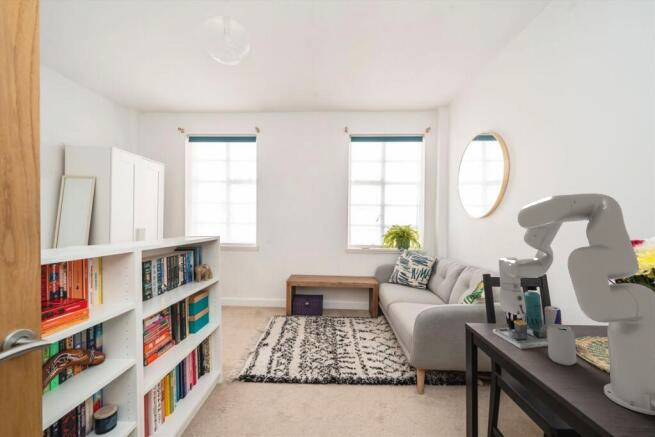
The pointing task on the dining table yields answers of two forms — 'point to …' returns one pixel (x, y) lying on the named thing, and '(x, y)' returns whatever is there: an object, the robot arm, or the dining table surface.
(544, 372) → the dining table surface
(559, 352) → the can
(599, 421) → the dining table surface
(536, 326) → the beverage bottle
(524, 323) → the handle
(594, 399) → the dining table surface
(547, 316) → the energy drink
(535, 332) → the panel
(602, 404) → the dining table surface
